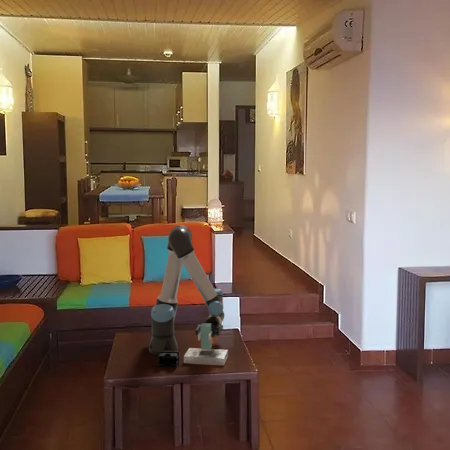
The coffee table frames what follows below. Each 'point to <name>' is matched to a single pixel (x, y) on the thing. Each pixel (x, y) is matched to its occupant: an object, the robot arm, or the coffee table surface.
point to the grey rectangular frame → (206, 356)
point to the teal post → (205, 336)
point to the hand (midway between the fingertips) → (203, 337)
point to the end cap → (168, 359)
